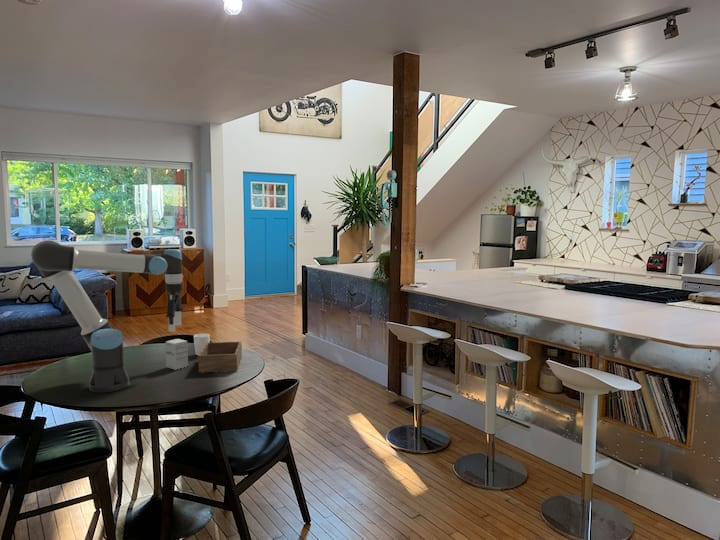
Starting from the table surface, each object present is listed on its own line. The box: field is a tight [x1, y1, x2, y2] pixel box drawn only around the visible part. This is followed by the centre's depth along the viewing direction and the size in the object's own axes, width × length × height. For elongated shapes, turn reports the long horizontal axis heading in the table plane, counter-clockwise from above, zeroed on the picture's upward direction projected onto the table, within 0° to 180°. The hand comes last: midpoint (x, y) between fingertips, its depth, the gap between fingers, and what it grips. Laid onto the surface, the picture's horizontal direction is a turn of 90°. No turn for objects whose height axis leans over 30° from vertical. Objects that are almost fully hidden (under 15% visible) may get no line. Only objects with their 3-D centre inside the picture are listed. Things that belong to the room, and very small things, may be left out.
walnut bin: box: [197, 341, 243, 373], centre depth 245 cm, size 24×17×8 cm
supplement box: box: [164, 338, 189, 371], centre depth 241 cm, size 7×7×13 cm
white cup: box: [193, 333, 211, 356], centre depth 263 cm, size 8×8×10 cm
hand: (175, 328), depth 240 cm, fingers open, 13 cm apart
